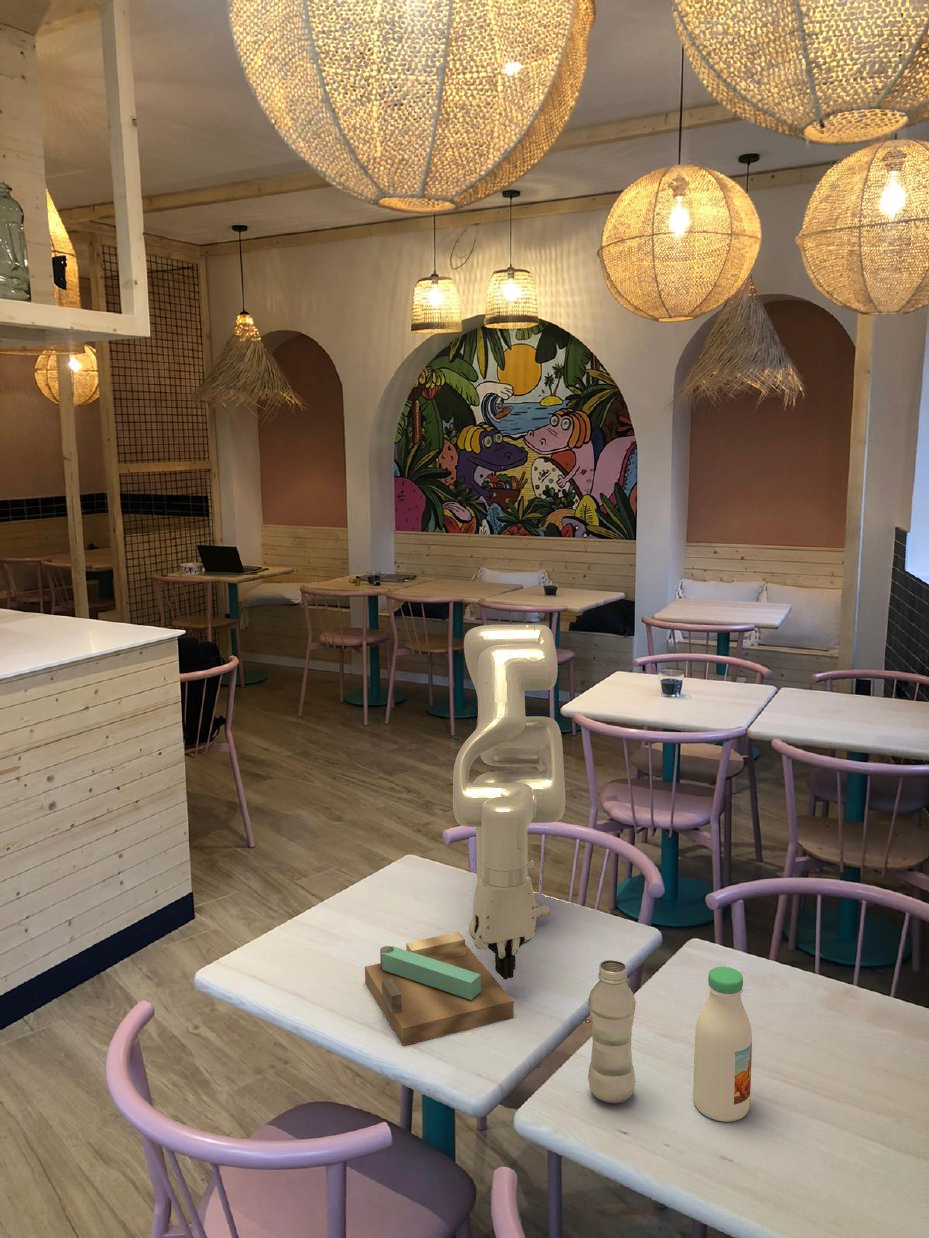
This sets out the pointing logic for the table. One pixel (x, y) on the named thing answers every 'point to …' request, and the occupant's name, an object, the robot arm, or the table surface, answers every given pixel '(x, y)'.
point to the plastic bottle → (611, 1034)
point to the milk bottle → (723, 1050)
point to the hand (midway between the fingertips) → (505, 974)
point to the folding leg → (430, 972)
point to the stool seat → (437, 995)
